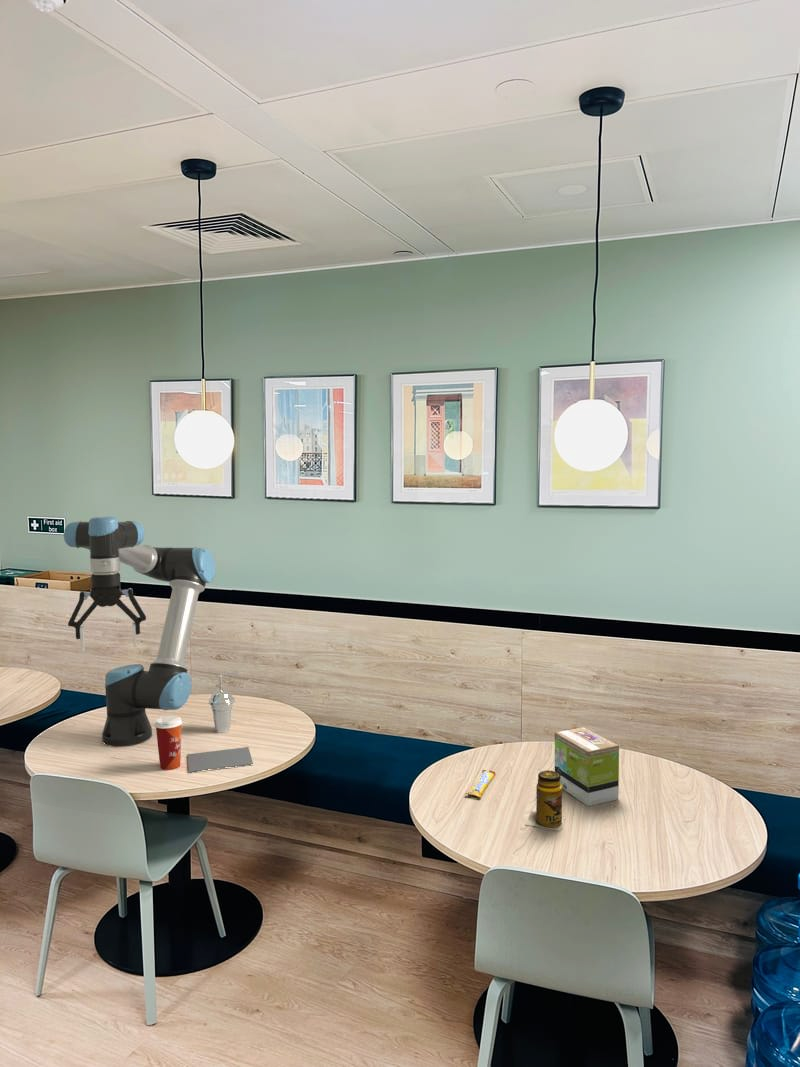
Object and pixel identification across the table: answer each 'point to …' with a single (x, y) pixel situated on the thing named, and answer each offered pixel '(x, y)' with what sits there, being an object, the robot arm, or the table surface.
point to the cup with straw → (222, 707)
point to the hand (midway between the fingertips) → (109, 648)
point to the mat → (219, 759)
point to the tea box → (587, 765)
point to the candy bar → (482, 783)
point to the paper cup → (169, 741)
